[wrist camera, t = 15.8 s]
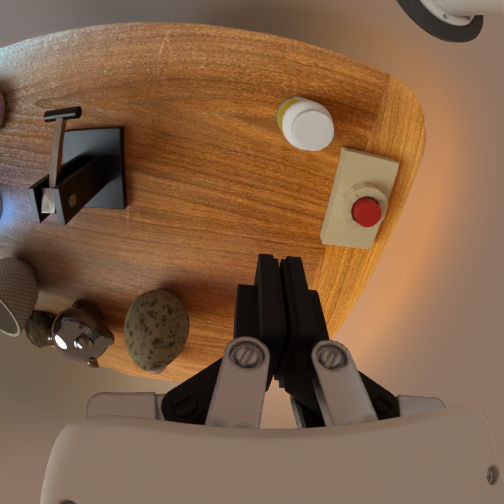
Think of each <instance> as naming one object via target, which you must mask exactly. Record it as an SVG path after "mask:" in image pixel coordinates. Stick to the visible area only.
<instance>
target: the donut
mask: <svg viewBox="0 0 504 504" xmlns="http://www.w3.org/2000/svg"><path fill="white" fill-rule="evenodd" d="M4 116H5V102H4V97H3V95H2V93H1V91H0V127H1V125H2V123H3V120H4Z"/></svg>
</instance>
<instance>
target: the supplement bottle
mask: <svg viewBox="0 0 504 504" xmlns="http://www.w3.org/2000/svg"><path fill="white" fill-rule="evenodd" d="M277 123H278V126H279V128H280V129H281V131H282V133H283V134H284V136H285V138H286V139H287V140H288V141H289V142H290V143H291V144H292V145H293V146H295V147H297V148H299V149H303V150H311V151H317V150H321V149H323V148H325V147H326V146H328V145H329V144H330V142H331V141H332V139H333V136H334V126H333V120H332V117H331V115H330V113H329V112H328V110H327V109H326V108H325V107H324V106H322V105H321V104H319V103H317V102H314V101H312V100H309V99H307V98H303V97H292V98H289V99H287V100H285V101H284V102H283V103H282V104H281V105H280V106H279V108H278V111H277Z"/></svg>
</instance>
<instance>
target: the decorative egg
mask: <svg viewBox="0 0 504 504" xmlns="http://www.w3.org/2000/svg"><path fill="white" fill-rule="evenodd" d="M189 326H190V323H189V316H188V312H187V310H186V308H185V306H184V304H183V303H182V301H181V300H180V299H179V298H178V297H177V296H175V295H174V294H172V293H170V292H168V291H164V290H151V291H148V292H145V293H143V294H142V295H140V296H139V297H138V298H137V299H136V300H135V301H134V302H133V303H132V305H131V306H130V308H129V310H128V313H127V316H126V320H125V329H124V332H125V341H126V346H127V349H128V352H129V354H130V356H131V358H132V359H133V361H134V362H135V364H136V365H137V366H139V367H140V368H141V369H143V370H146V371H156V370H159V369H162V368H164V367H165V366H167V365H169V364H170V363H171V362H172V361H173V360H174V359H175V358H176V357H177V356H178V355H179V354H180V352H181V351H182V349H183V347H184V345H185V343H186V341H187V338H188V334H189Z"/></svg>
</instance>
